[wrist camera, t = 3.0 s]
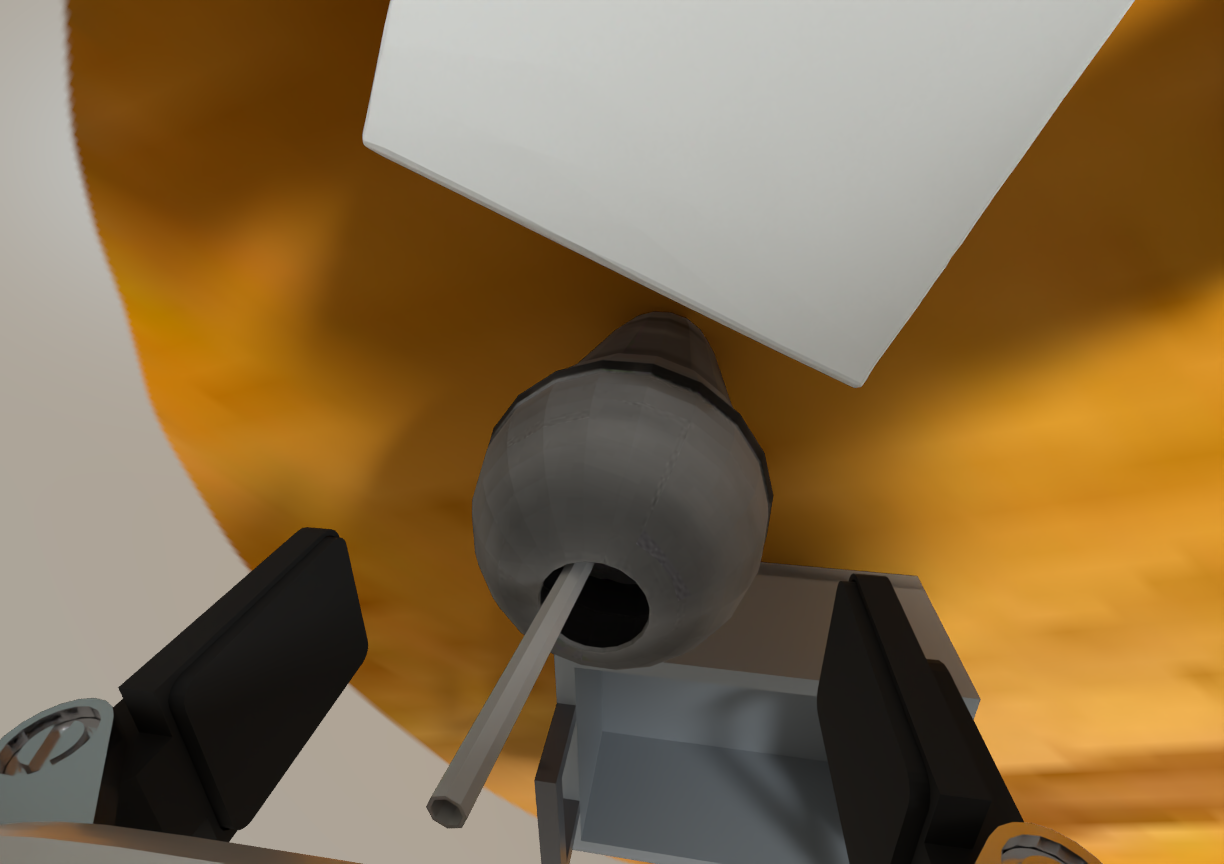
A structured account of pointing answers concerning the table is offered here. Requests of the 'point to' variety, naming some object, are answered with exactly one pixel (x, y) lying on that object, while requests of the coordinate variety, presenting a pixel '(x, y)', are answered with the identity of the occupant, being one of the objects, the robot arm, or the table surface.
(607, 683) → the tote
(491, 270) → the table surface
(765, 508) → the beverage cup
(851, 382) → the supplement box
